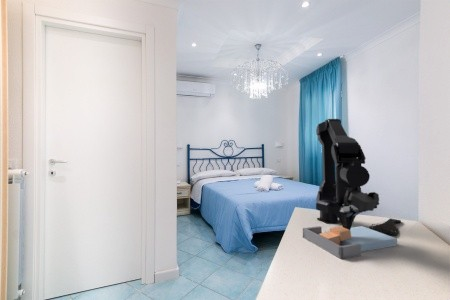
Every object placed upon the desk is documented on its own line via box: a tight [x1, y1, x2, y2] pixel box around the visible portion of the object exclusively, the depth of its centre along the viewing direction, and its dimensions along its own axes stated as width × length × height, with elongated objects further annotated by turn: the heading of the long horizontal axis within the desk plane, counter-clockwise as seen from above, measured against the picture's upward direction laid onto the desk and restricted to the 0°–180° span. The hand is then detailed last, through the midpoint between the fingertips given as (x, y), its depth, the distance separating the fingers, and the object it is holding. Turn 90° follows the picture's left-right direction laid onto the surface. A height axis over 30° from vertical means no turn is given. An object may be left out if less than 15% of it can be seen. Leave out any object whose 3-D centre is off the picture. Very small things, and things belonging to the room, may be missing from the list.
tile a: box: [329, 225, 351, 241], centre depth 70 cm, size 4×4×2 cm
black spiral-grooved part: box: [368, 218, 401, 236], centre depth 85 cm, size 8×4×25 cm
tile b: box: [319, 230, 340, 244], centre depth 69 cm, size 4×4×2 cm
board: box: [324, 225, 398, 252], centre depth 72 cm, size 12×16×2 cm
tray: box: [302, 225, 362, 260], centre depth 69 cm, size 16×7×3 cm, turn 17°
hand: (347, 232), depth 71 cm, fingers closed
